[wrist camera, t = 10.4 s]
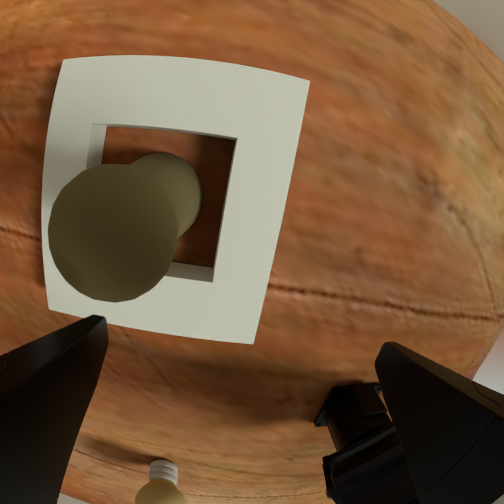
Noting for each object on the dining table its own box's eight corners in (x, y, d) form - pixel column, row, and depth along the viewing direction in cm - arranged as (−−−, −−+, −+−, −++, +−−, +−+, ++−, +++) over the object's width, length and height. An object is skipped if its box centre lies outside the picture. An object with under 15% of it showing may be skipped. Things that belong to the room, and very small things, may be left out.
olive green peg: (184, 138, 17) (140, 118, 7) (216, 221, 20) (213, 299, 9) (106, 174, 17) (3, 202, 7) (138, 251, 20) (75, 343, 9)
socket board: (249, 325, 22) (253, 344, 20) (62, 294, 20) (49, 309, 18) (298, 89, 17) (309, 81, 15) (78, 67, 14) (63, 59, 12)
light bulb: (169, 476, 30) (166, 532, 21) (132, 459, 28) (123, 518, 19) (197, 465, 30) (198, 527, 20) (158, 447, 28) (151, 515, 18)
